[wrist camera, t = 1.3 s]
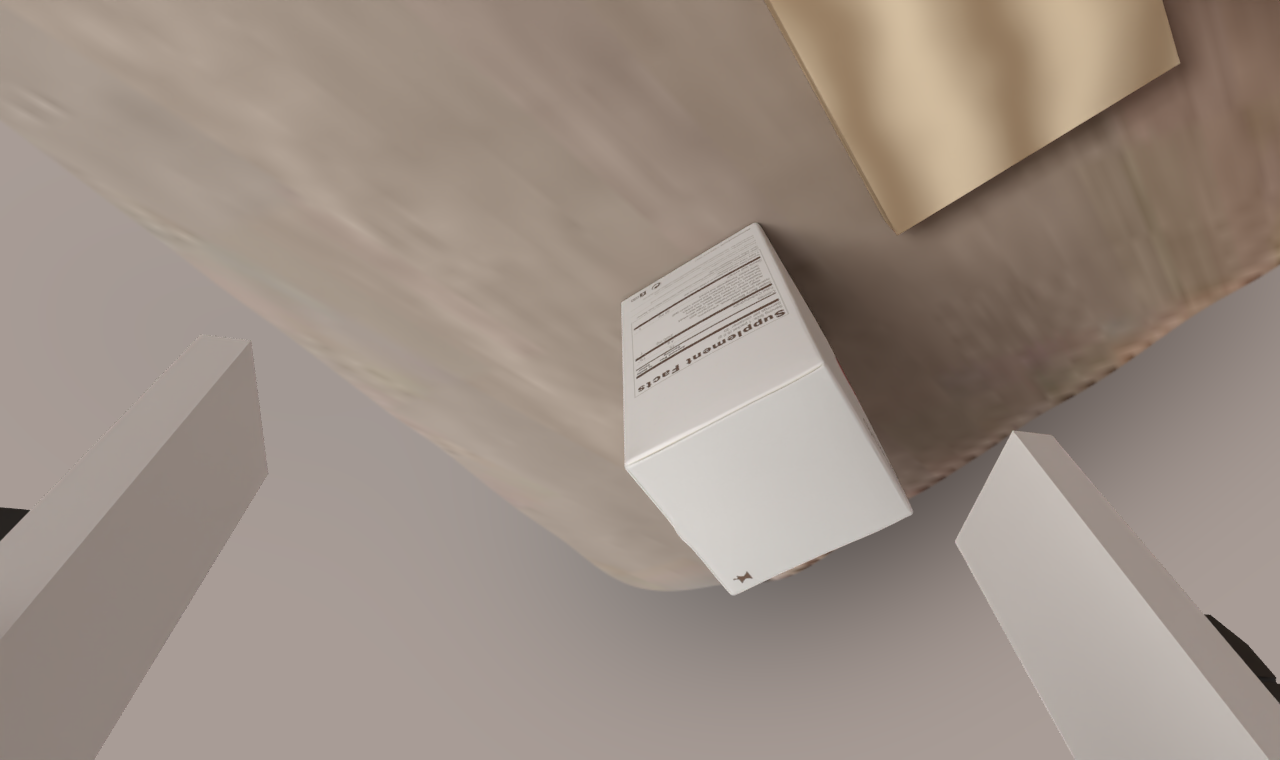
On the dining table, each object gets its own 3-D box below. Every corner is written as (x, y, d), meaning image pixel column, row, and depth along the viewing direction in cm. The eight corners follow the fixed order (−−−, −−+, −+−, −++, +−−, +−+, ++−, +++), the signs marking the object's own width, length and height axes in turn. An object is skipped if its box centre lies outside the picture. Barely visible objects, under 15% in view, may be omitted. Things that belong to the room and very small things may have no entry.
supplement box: (830, 341, 43) (923, 520, 31) (696, 412, 46) (730, 605, 33) (759, 214, 39) (831, 361, 26) (615, 299, 41) (618, 471, 29)
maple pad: (885, 221, 39) (897, 235, 38) (750, -24, 33) (758, -21, 31) (1152, 56, 35) (1180, 63, 34) (1058, -259, 29) (1086, -269, 27)
